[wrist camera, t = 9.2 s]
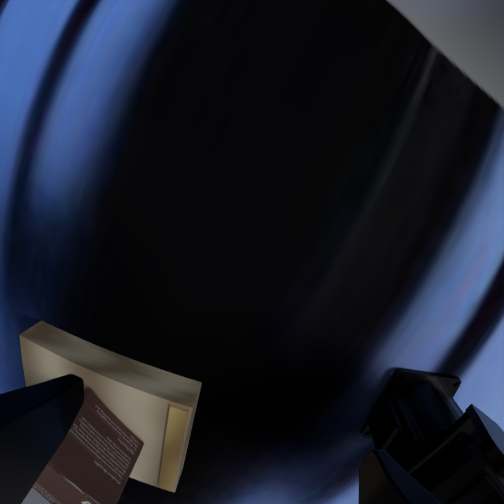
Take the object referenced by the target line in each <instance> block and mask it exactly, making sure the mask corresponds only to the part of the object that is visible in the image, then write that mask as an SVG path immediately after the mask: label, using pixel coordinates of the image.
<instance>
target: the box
mask: <svg viewBox="0 0 504 504" xmlns="http://www.w3.org/2000/svg"><path fill="white" fill-rule="evenodd" d="M84 396H85V399H84V403H83V405H82V407H81V409H80V411H79V413H78V415H77V417H76V419H75V420H74V422H73V424H72V426H71V428H70V430H69V432H68V434H67V436H66V437H65V439H64V441H63V442H62V444H61V445H60V447H59V448H58V450H57V451H56V453H55V454H54V455H53V457H52V458H51V460H50V461H49V463H48V464H47V466H46V467H45V469H44V470H43V472H42V473H41V475H40V476H39V478H38V479H37V481H36V482H35V484H34V485H33V488H34V489H35V490H37V491H38V492H39V493H40V494H41V495H42V496H43V497H44V498H45V499H47V500H48V501H49V502H50V503H51V504H117V502H118V500H119V498H120V496H121V494H122V491H123V489H124V487H125V485H126V483H127V480H128V478H129V476H130V474H131V472H132V470H133V468H134V465H135V463H136V461H137V459H138V457H139V455H140V453H141V450H142V448H143V445H144V443H143V442H142V441H141V440H140V439H139V438H138V437H137V436H136V435H134V434H133V433H132V432H131V431H130V430H129V429H128V428H127V427H126V426H125V425H124V424H123V423H122V422H121V421H120V420H119V419H118V418H117V417H116V416H115V415H114V414H113V413H112V412H111V411H110V410H109V409H108V408H107V407H106V406H105V405H104V404H103V403H102V402H101V401H100V400H99V398H98V397H97V396H96V395H95V394H94V393H93V392H92V390H91V389H90V388H86V389H85V390H84Z"/></svg>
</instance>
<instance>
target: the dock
mask: <svg viewBox="0 0 504 504" xmlns="http://www.w3.org/2000/svg"><path fill="white" fill-rule="evenodd" d="M19 336H20V346H21V355H22V362H23V370H24V376H25V383H26V387H28V386H31V385H34V384H38V383H41V382H45V381H48V380H51V379H54V378H58V377H61V376H64V375H67V374H74V375H76V376H79V377H81V378H82V379H83V381H84V390H85V389H86V388H90V389H91V390H92V392H93V393H94V394H95V395H96V396H97V397H98V398H99V400H100V401H101V402H102V403H103V404H104V405H105V406H106V407H107V408H108V409H109V410H110V411H111V412H112V413H113V414H114V415H115V416H116V417H117V418H118V419H119V420H120V421H121V422H122V423H123V424H124V425H125V426H126V427H127V428H128V429H129V430H130V431H131V432H132V433H133V434H134V435H136V436H137V437H138V438H139V439H140V440H141V441H142V442H143V443H144V445H143V448H142V450H141V453H140V455H139V457H138V459H137V461H136V463H135V465H134V468H133V470H132V472H131V474H130V476H129V477H131V478H134V479H136V480H139V481H142V482H144V483H147V484H150V485H153V486H156V487H159V488H162V489H165V490H168V491H171V492H175V490H176V487H177V484H178V481H179V478H180V475H181V472H182V469H183V465H184V460H185V455H186V451H187V446H188V442H189V437H190V433H191V429H192V424H193V420H194V415H195V411H196V407H197V402H198V398H199V393H200V389H201V385H202V382H199V381H196V380H192V379H189V378H186V377H183V376H179V375H176V374H173V373H170V372H167V371H164V370H161V369H158V368H155V367H152V366H149V365H147V364H144V363H141V362H138V361H135V360H133V359H130V358H127V357H125V356H122V355H119V354H117V353H114V352H112V351H109V350H107V349H104V348H102V347H99V346H97V345H95V344H92V343H90V342H87V341H85V340H83V339H80V338H78V337H76V336H74V335H71V334H69V333H67V332H65V331H63V330H60V329H58V328H56V327H54V326H52V325H50V324H48V323H46V322H44V321H42V320H41V321H40V322H38V323H37V324H35V325H34V326H32V327H30V328H29V329H27V330H26V331H24V332H23V333H21V334H20V335H19Z"/></svg>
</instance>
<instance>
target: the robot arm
mask: <svg viewBox="0 0 504 504" xmlns="http://www.w3.org/2000/svg"><path fill="white" fill-rule="evenodd" d="M400 374H401V376H400V377H397V376H398V375H400ZM455 382H456V383H455ZM454 383H455V384H454ZM460 384H461V380H460V379H459V378H458V377H456V376H448V375H441V374H434V373H427V372H420V371H413V370H407V369H397V370H395V371H394V372H393V374H392V376H391V378H390V380H389V382H388V383H387V385H386V387H385V389H384V391H383V393H382V394H381V395H380V396H379V398H378V400H377V402H376V403H375V405H374V407H373V409H372V410H371V412H370V414H369V416H368V417H367V421H366V423H365V425H364V426H363V428H362V430H361V433H362V436H363V437H365V438H373V441H374V444H375V448H376V450H372V451H371V452H370V453H369V454H368V456H367V457H366V459H365V460H364V462H363V463H362V464H361V466H360V469H359V504H504V432H503V430H502V429H501V428H500V427H499V426H498V424H496V423H495V422H494V421H493V420H491V419H490V418H489V417H488V416H487V415H485V414H484V413H483V412H482V411H480V410H479V409H478V408H477V407H475V406H474V405H473V404H471V405H470V406H469V407H468V408H467V409H466V412H465V413H463V412H462V410H461V409H460V408H459V406H458V405H457V403H456V402H455V400H454V399H453V396H454V395H455V393H456V391H457V390H458V388H459V386H460ZM84 399H85V396H84V381H83V379H82V378H81V377H79V376H76V375H74V374H67V375H64V376H61V377H58V378H54V379H51V380H48V381H45V382H41V383H38V384H34V385H31V386H28V387H24V388H21V389H17V390H13V391H10V392H6V393H3V394H0V504H21V503H22V502H23V500H24V499H25V497H26V496H27V494H28V493H29V491H30V490H31V488H32V487H33V485H34V484H35V482H36V481H37V479H38V478H39V476H40V475H41V473H42V472H43V470H44V469H45V467H46V466H47V464H48V463H49V461H50V460H51V458H52V457H53V455H54V454H55V453H56V451H57V450H58V448H59V447H60V445H61V444H62V442H63V441H64V439H65V437H66V436H67V434H68V432H69V430H70V428H71V426H72V424H73V422H74V420H75V419H76V417H77V415H78V413H79V411H80V409H81V407H82V405H83V403H84ZM367 431H369V432H367Z"/></svg>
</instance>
